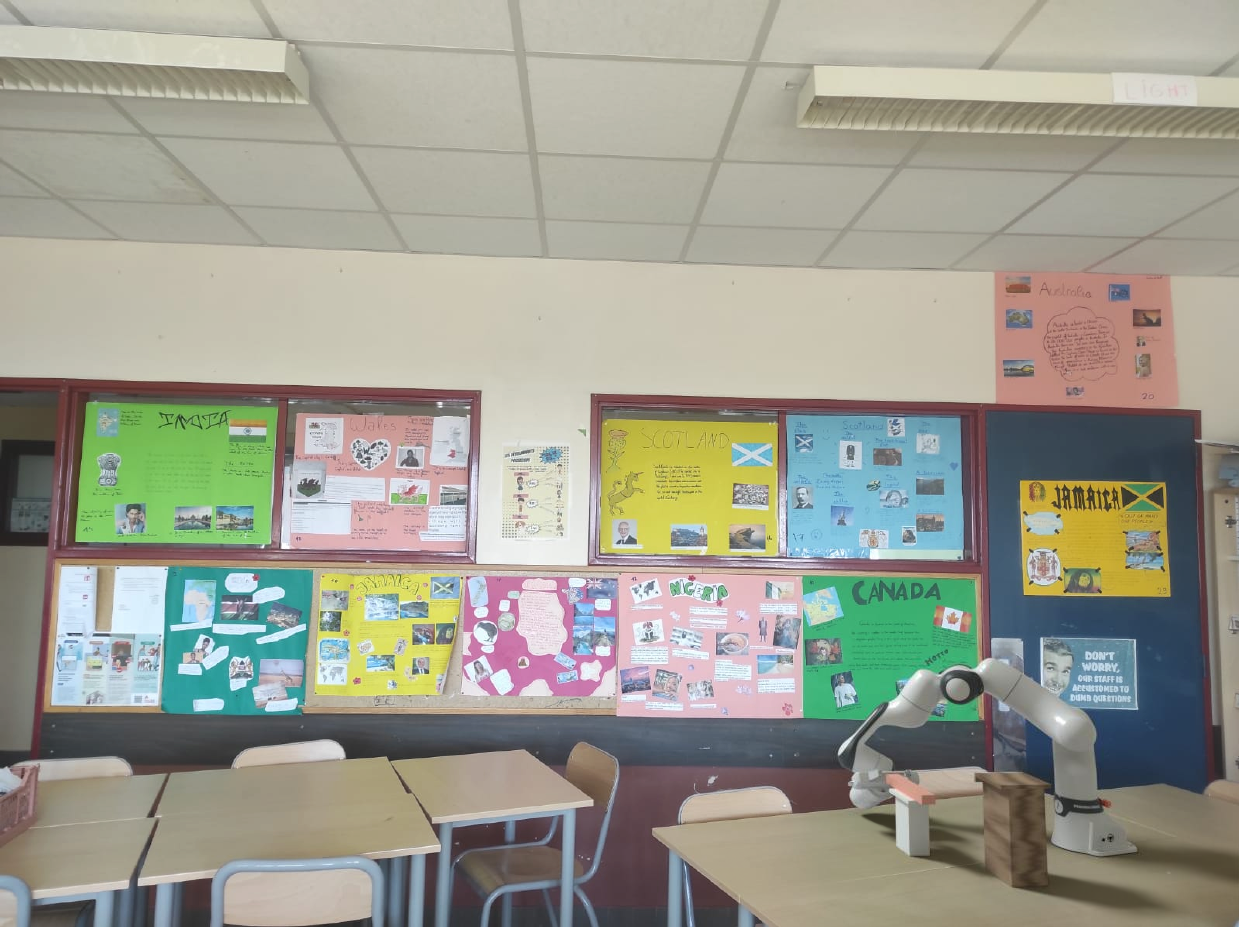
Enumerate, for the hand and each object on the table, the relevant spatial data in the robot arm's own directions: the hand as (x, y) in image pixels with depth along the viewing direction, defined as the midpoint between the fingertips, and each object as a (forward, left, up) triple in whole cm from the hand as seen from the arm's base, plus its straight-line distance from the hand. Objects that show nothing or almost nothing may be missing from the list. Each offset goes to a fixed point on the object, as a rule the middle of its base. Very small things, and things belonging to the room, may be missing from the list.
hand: (894, 772), depth 246 cm
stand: (0, +10, -19) cm, 22 cm away
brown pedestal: (-18, +31, -19) cm, 41 cm away
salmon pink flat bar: (0, +9, -3) cm, 10 cm away
